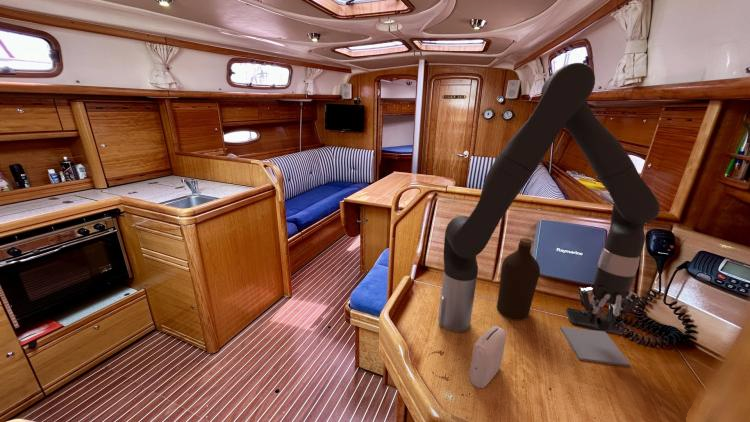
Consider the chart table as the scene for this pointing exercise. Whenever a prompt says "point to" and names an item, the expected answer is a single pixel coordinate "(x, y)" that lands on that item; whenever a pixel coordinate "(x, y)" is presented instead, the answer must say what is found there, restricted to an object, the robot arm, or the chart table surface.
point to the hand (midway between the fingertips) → (599, 323)
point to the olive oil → (518, 282)
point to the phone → (581, 320)
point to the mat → (594, 346)
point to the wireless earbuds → (601, 320)
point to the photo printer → (487, 356)
